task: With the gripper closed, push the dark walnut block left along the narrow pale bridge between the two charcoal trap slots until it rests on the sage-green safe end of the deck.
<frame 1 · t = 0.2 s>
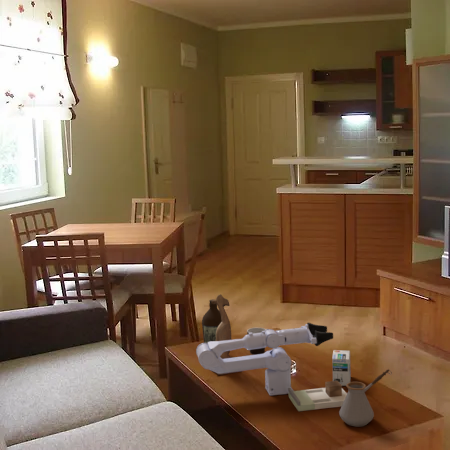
hand: (329, 332, 255), 21 cm above the table, tool horizontal, fingers open, 7 cm apart
coffee pot: (367, 418, 230), on the table
walnut block: (333, 394, 246), point 2 cm above the table, touching trap deck
trap deck: (320, 400, 245), on the table
bird sculpture: (224, 369, 280), on the table
olive oil: (215, 355, 298), on the table
light bulb box: (341, 381, 263), on the table
coffee mug: (257, 351, 301), on the table
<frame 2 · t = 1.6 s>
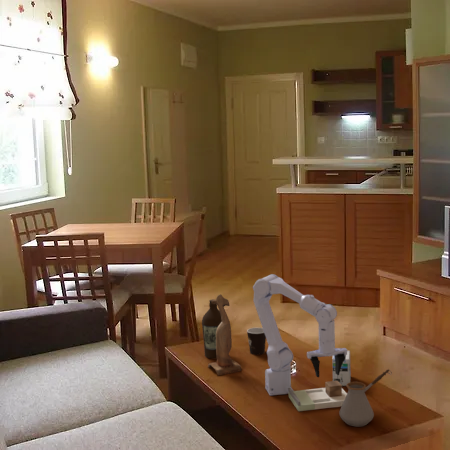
hand: (327, 375, 244), 9 cm above the table, tool pointing down, fingers open, 7 cm apart
nothing on the table moved.
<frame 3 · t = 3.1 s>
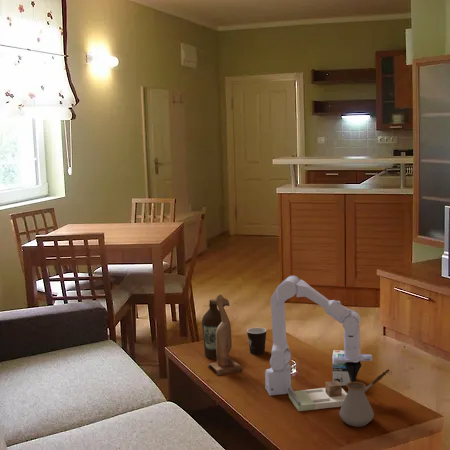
hand: (352, 381, 246), 6 cm above the table, tool pointing down, fingers closed
nothing on the table moved.
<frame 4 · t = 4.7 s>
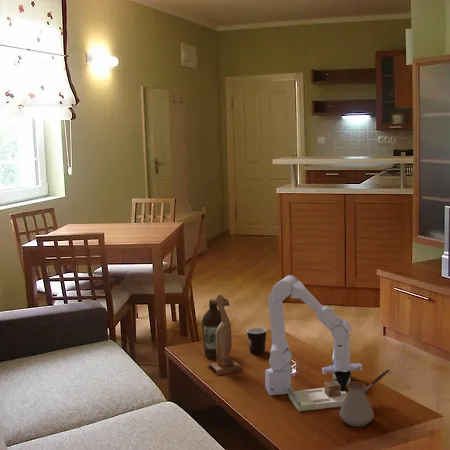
hand: (342, 390, 246), 3 cm above the table, tool pointing down, fingers closed
walnut block: (332, 394, 245), point 2 cm above the table, touching gripper
everything else where it was.
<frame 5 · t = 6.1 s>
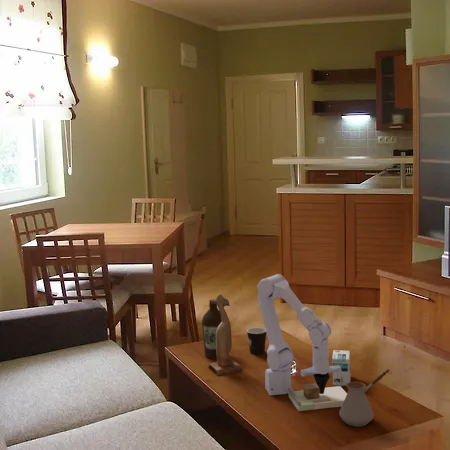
hand: (321, 392, 245), 3 cm above the table, tool pointing down, fingers closed
walnut block: (311, 396, 244), point 2 cm above the table, touching gripper
everything else where it was.
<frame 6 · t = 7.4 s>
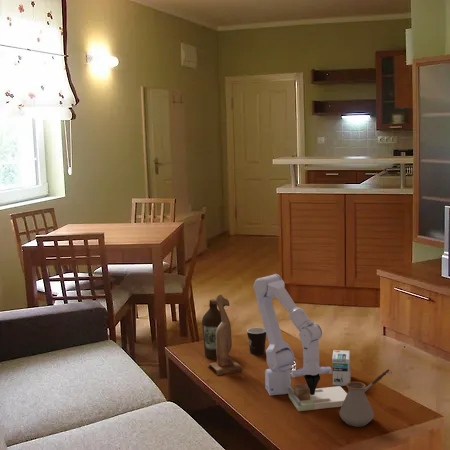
hand: (311, 393, 244), 3 cm above the table, tool pointing down, fingers closed
walnut block: (302, 397, 243), point 2 cm above the table, touching gripper, trap deck
everything else where it was.
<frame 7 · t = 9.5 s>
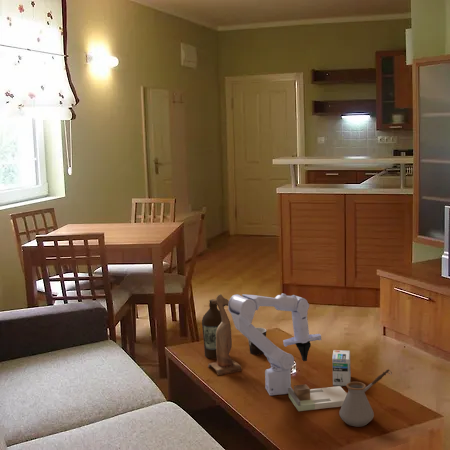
hand: (304, 360, 260), 10 cm above the table, tool pointing down, fingers closed
walnut block: (302, 397, 243), point 2 cm above the table, touching trap deck
everything else where it was.
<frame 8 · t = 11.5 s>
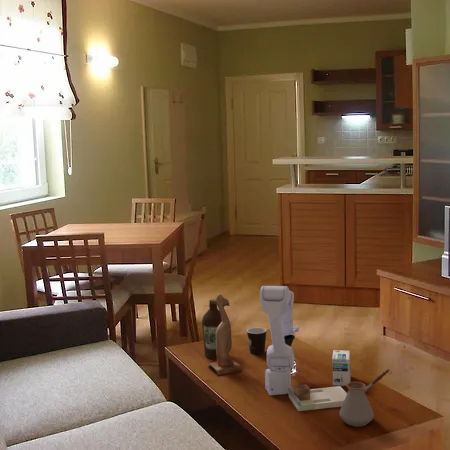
hand: (286, 353, 269), 9 cm above the table, tool pointing down, fingers closed
nothing on the table moved.
at the end: walnut block 0.2 cm from the target spot on the trap deck, point 2.0 cm above the trap deck's base; walnut block tilted 0° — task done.
